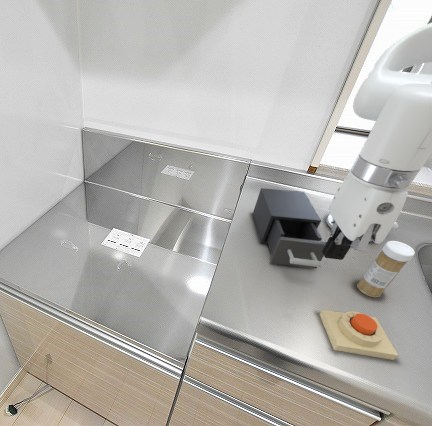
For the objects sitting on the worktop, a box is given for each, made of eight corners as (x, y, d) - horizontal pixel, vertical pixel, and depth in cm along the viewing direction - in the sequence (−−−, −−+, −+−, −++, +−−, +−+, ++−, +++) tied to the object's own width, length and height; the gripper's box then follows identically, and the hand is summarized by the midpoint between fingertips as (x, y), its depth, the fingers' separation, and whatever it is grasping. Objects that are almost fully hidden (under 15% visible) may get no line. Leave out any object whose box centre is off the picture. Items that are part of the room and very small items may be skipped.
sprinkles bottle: (383, 292, 67) (419, 249, 59) (374, 301, 65) (410, 258, 57) (361, 279, 70) (392, 236, 62) (352, 288, 68) (382, 245, 60)
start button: (367, 320, 58) (371, 315, 57) (376, 337, 55) (381, 331, 54) (347, 317, 58) (351, 312, 57) (355, 333, 55) (359, 328, 54)
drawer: (322, 281, 68) (337, 258, 64) (274, 275, 70) (285, 252, 65) (300, 235, 81) (311, 213, 77) (261, 231, 83) (269, 209, 78)
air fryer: (307, 248, 78) (321, 220, 73) (260, 243, 80) (271, 215, 75) (292, 218, 89) (304, 191, 83) (252, 214, 91) (260, 188, 85)
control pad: (372, 322, 61) (381, 312, 59) (393, 360, 54) (404, 350, 52) (319, 314, 62) (326, 304, 60) (333, 350, 56) (342, 340, 54)
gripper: (444, 199, 39) (373, 289, 50) (384, 153, 51) (337, 233, 62) (380, 193, 40) (324, 282, 51) (336, 149, 52) (298, 229, 63)
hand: (331, 255), depth 56 cm, fingers closed
